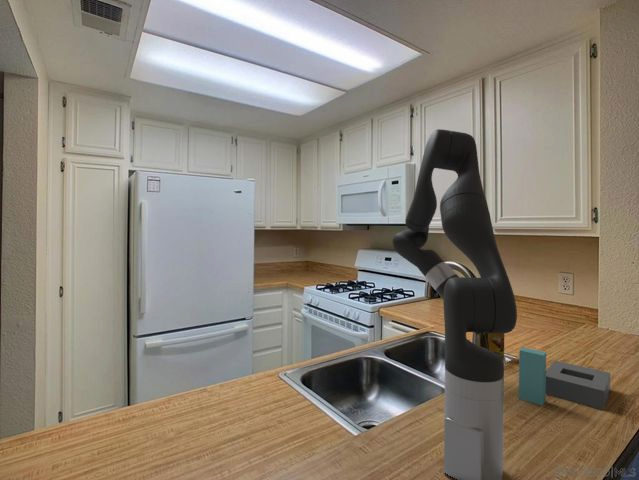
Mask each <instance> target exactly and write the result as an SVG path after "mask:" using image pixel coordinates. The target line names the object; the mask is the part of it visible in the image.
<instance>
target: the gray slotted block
mask: <svg viewBox="0 0 639 480" xmlns="http://www.w3.org/2000/svg"><path fill="white" fill-rule="evenodd" d="M610 391H611V372H608V371H603V370H600V369H595V368H591V367H586V366H581V365H577V364H572V363H568V362H563V361H558V360H553V362H552V363H551V365H550V366H549V367H548V368H547V369H546V395H549V396H552V397H556V398H560V399H563V400H566V401H569V402H572V403H573V402H574V403H577V404H581V405H584V406H587V407H591V408H594V409H598V410H601V411H605V408H606V405H607V402H608V398H609V394H610Z"/></svg>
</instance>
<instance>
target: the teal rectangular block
mask: <svg viewBox="0 0 639 480" xmlns="http://www.w3.org/2000/svg"><path fill="white" fill-rule="evenodd" d="M518 351H519V352H518V353H519V355H518V356H519V359H518V360H519V362H518V367H519V368H518V373H519V374H518V400H519V399H520V400H523V401H525V402H527V403H528V402H529V403H532V404H535V405H539V406H542V407H543V406H544V405H545V403H546V399H547V398H546V395H547V394H546V371H547V352H545V351H543V350H537V349H533V348H528V347H524V346H522V348H521V349H519V350H518Z"/></svg>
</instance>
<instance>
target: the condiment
mask: <svg viewBox="0 0 639 480" xmlns="http://www.w3.org/2000/svg"><path fill="white" fill-rule="evenodd" d="M505 334H506V333H488V340H489V349H490V350H491V351H493V352H494V353H496V354H498V355H499V356H500V357H501V358H502V360H503V363H504V364H505V363H506V355H505Z"/></svg>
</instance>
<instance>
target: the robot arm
mask: <svg viewBox="0 0 639 480" xmlns="http://www.w3.org/2000/svg"><path fill="white" fill-rule="evenodd" d="M476 143H477V142H476V140H475V138H474V137H473V135H471V134H469V133H466V132H461V131H455V130H449V129H440V128H438V129H435V130H433V132H431V134H430V135H429V137H428V140H427V142H426V144H425V147H424V152H423V156H422V159H421V164H420V168H419V171H418V175H417V176H418V177H417V181H416V185H415V186H416V187H415V190H414V194H413V198H412V201H411V203H410V205H409V209H408V211H407V214H406V218H405V221H404V223H405V225H406V228H407V229H404V230H402V231H399V232H397V233H396V234H394V235H393V237H392V246H393V248H394V250H395V252H396V253H397V254H398V255H399V256H401V258H403V259H405V260H406V261H408V262H409V263H410V264H412V266H415V267H416V268H417V269H418V270H419V271H420V273H421V274H422V275H423V276H424V277H425V278H426V279H425V280H427V282H428V283H429V285H430V286H431V287H432V288H433V289H434V290H435V291H436V293H437V294H438V295H439V297H441V299H442V300H443V301H442V302H443V319H444V411H443V412H444V414H443V415H444V418H443V419H444V421H443V422H444V424H443V427H444V428H443V429H444V434H443V473H444V474H445V473H446V474H445V475H447V474H448V475H447V476H449V477H450V476H451V477H450V478H452V477H453V478H452V479H454V478H455V479H454V480H456V479H457V480H503V478H502V477H504V398H505V397H504V395H505V394H504V392H505V391H504V388H505V387H504V386H505V384H504V383H505V381H504V380H505V363H503V360H502V358H501V357H500V356H499V355H498V354H496V353H494V352H493V351H491V350H488V349H486V348H484V347H483V346H480V345H479V344H476V343H474V342H472V341H470V340H469V339H468V338H467V333H475V334H476V335H481V334H484V333H505V334H508V333H511V332H513V330H514V329H515V327H516V326H517V325H516V324H517V321H518V319H517V318H518V310H517V302H516V297H515V293H514V291H513V287H512V285H511V281H510V279H509V276H508V273H507V270H506V268H505V265H504V263H503V262H504V261H503V259H502V256H501V254H500V251H499V249H498V244H497V240H496V238H495V232H494V229H493V228H494V227H493V224H492V217H491V213H490V210H489V205H488V201H487V199H486V195H485V191H484V188H483V183H482V179H481V173H480V167H479V165H480V164H479V159H478V148H477V144H476ZM435 169H439V170H446V171H452V172H454V173H456V174H457V178H456V180H455V181H454V182H453V183H452V184H451V185H450V186H449V187H448V188H447V189H446V191H445V192H444V194H443V195H442V196H441V200H440V201H439V203H440V204H439V212H440V219H441V227H442V230H443V233H444V234H445V236H446V237H447V238H448V240H449V241H450V242H451V243H452V244H453V245H454V246H455V247H456V248H457V249H458V250H459V251H460V252H461V253H462V254H463V255H465V256H466V258H467V259H469V261H470V262H471V263H472V264H473V266H474V267H475V269H476V270H477V272H478V274H479V277H471V276H470V277H468V276H467V277H466V276H464V277H463V276H462V277H461V276H459V275H458V274H457V273H456V272H455V271H454V270H453V269H452V268H451V266H450V265H448V264H447V263H446V262H445V261H444V260H443V259H442V257H440V256H439V254H438V253H437V252H436V250H433V249H422V248H423V247H425V245H426V244H427V242H428V239H429V230H430V225H431V222H432V221H433V218H434V216H435V214H436V211H437V207H438V201H437V196H436V193H435V189H434V186H433V173H434V170H435Z"/></svg>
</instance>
